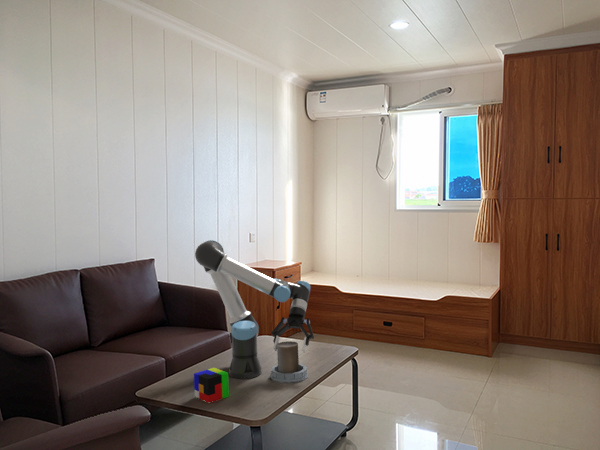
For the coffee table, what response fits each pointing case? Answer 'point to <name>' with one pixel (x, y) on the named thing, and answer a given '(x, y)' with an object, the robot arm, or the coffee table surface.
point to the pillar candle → (288, 357)
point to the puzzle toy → (211, 384)
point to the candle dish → (289, 375)
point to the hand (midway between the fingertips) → (289, 350)
